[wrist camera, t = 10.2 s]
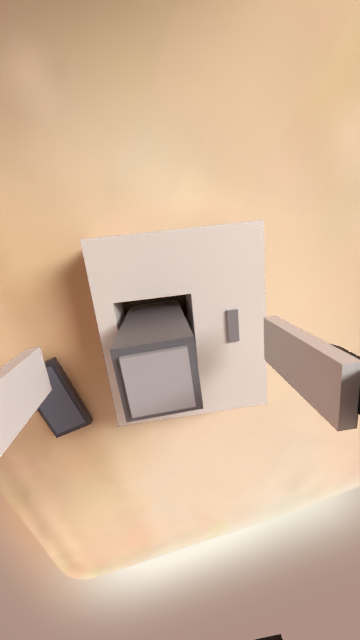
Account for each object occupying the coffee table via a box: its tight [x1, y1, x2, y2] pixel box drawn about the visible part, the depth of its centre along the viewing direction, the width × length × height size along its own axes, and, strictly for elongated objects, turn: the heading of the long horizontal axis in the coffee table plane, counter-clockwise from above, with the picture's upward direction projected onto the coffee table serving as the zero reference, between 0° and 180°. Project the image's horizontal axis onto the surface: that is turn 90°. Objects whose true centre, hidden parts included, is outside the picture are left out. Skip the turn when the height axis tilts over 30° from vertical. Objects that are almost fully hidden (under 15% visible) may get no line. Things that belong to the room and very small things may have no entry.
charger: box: [110, 299, 204, 422], centre depth 17 cm, size 4×4×10 cm
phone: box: [37, 357, 93, 438], centre depth 23 cm, size 7×4×1 cm, turn 23°
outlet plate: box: [80, 220, 267, 427], centre depth 20 cm, size 14×12×4 cm
